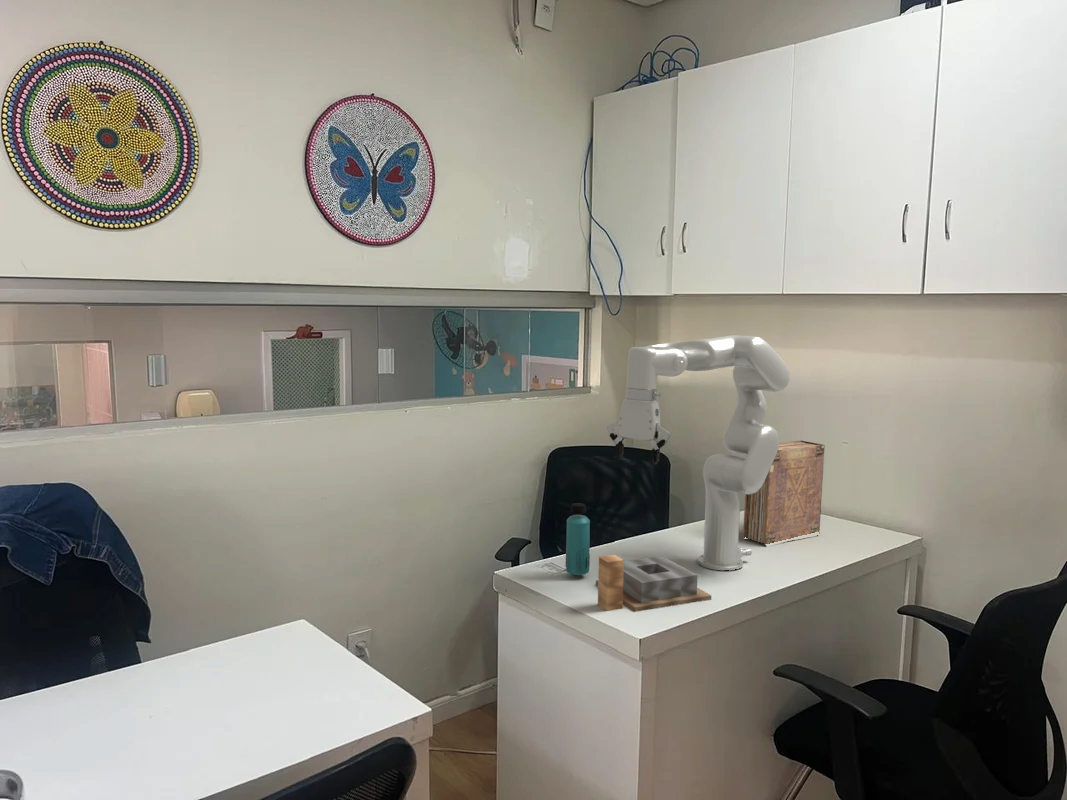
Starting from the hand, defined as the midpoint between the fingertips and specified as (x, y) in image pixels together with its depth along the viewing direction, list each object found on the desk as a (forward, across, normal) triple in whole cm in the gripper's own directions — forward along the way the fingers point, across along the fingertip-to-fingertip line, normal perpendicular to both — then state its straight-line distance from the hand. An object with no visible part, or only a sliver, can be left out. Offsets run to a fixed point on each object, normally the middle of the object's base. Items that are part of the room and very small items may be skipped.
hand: (636, 461), depth 200 cm
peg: (+33, -2, +15) cm, 37 cm away
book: (+30, -22, -69) cm, 78 cm away
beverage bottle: (+33, +15, +1) cm, 37 cm away
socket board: (+33, -7, 0) cm, 33 cm away
